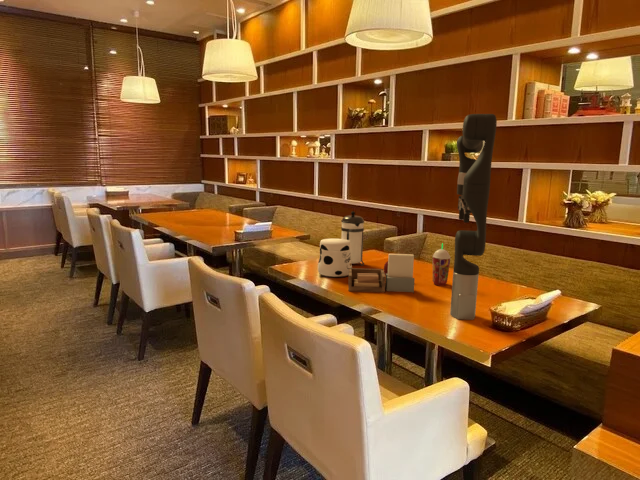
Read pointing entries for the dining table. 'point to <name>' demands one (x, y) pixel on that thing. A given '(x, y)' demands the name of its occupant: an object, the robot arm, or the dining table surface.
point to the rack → (381, 287)
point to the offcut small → (367, 277)
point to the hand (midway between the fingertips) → (463, 221)
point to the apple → (386, 268)
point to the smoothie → (441, 266)
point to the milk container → (334, 258)
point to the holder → (399, 284)
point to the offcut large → (365, 284)
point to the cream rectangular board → (400, 265)
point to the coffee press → (354, 236)
